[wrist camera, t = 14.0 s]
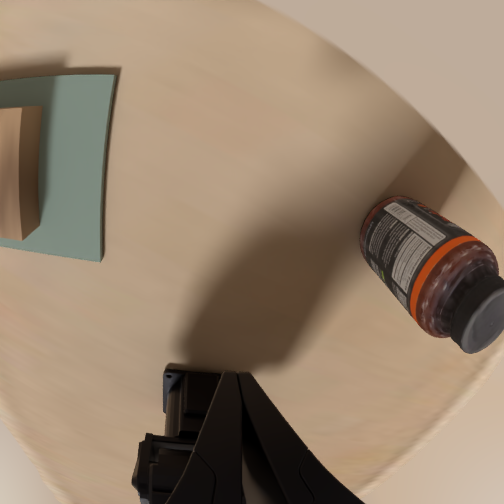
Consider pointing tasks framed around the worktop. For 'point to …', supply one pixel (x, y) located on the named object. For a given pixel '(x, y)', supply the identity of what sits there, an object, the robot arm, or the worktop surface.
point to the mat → (67, 160)
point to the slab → (19, 171)
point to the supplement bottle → (436, 272)
